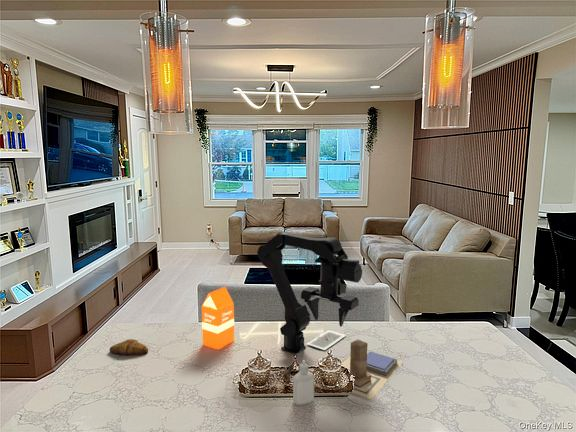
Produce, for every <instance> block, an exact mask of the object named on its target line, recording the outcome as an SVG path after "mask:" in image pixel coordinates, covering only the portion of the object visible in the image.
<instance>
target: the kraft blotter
mask: <svg viewBox="0 0 576 432" xmlns="http://www.w3.org/2000/svg"><path fill="white" fill-rule="evenodd" d="M370 351H371V350H370ZM370 351H369V350H367V354H368V353H369V352H370ZM403 363H404V360H401V359H397V365H396V366H395V367H394V368H393V369H392V370H391V371H390V373H389V374H388V375H387V376H383V375H380V374H377V373H374V372H371V371H368V370H367V373H369V374H371V381H370V382H368V383H367V384H365V385H364V386H362V387H360V388H359V387H357V386H355V385H354V389H353V392H351V393H353V394H355V395H358V396H361V397H364V398H366V399H368V400H373V398H374V397H375V396H376V395H377V394H378V392H380V390H381V389H382V388H383V386H385V384H387V382H388V381H389V379H390V378H391V377H392V376H393V375H394V374H395V372H396V371H397V370H398V368H400V366H401V365H402V364H403ZM341 364H343V366H344V367H346V368H348V369H349V371H350V356H349V357H348V358H346V359H345V360H344V361H342V363H341Z"/></svg>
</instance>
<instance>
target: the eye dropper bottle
mask: <svg viewBox="0 0 576 432" xmlns="http://www.w3.org/2000/svg"><path fill="white" fill-rule="evenodd" d="M298 366H299V372H297V373H296V374H294V376H293V379H292V380H293V384H292V387H293V388H292V390H293V391H292V396H293V398H292V399H293V403H294V404H295V406H296V405H297V406H305V405H308V404H310V403H313V402H314V400H315V375H314V374H313V373H312V372H311V371H309V364H307V363H306V359H302V362H301V363H300V364H299V365H298Z"/></svg>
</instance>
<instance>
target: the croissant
mask: <svg viewBox="0 0 576 432" xmlns="http://www.w3.org/2000/svg"><path fill="white" fill-rule="evenodd" d="M109 352H110V353H112V354H115V355H122V356H131V355H132V356H136V355H144V354H145V355H146V354H147V353H148V352H149V347H147V346H146V345H145V344H143V343H141V342H139V341H138V340H137V339H133V338H130V339H129V338H128V339H126V340H123V341H121V342H119V343H115V344H113V345H112V346H110V347H109Z"/></svg>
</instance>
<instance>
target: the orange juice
mask: <svg viewBox="0 0 576 432" xmlns="http://www.w3.org/2000/svg"><path fill="white" fill-rule="evenodd" d="M201 329H202V331H201V332H202V345H203V346H206V347H209V348H213V349H215V350H221V349H222V348H224V347H225V346H227V345H229V344H231V343H232V342H234V341H235V303H234V301H233V299H232V297H231V295H230V293H229V291H228V290H227V288H226V286H222V287H221V288H218V289H216V290H213V291H211V292H208V294H207V296H206V297H205V300H204V301H203V303H202V305H201Z"/></svg>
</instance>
